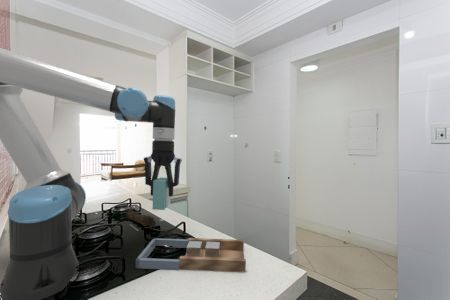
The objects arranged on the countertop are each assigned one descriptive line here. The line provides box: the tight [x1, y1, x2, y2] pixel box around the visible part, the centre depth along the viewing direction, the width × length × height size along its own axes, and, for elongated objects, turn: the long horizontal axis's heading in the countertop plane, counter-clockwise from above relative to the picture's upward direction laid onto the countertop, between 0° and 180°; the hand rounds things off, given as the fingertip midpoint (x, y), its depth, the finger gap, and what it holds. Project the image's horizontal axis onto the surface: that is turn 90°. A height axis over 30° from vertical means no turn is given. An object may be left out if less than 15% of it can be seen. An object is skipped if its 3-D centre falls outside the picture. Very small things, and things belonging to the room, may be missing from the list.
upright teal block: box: [152, 177, 169, 211], centre depth 77 cm, size 4×7×10 cm, turn 178°
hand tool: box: [125, 210, 156, 228], centre depth 92 cm, size 19×4×5 cm, turn 51°
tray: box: [135, 237, 188, 271], centre depth 64 cm, size 12×13×4 cm
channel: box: [178, 237, 247, 273], centre depth 64 cm, size 18×12×4 cm
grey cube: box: [185, 241, 202, 257], centre depth 64 cm, size 4×4×4 cm
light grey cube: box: [205, 242, 220, 258], centre depth 64 cm, size 4×4×4 cm
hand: (161, 204), depth 77 cm, fingers closed on upright teal block, 4 cm apart
